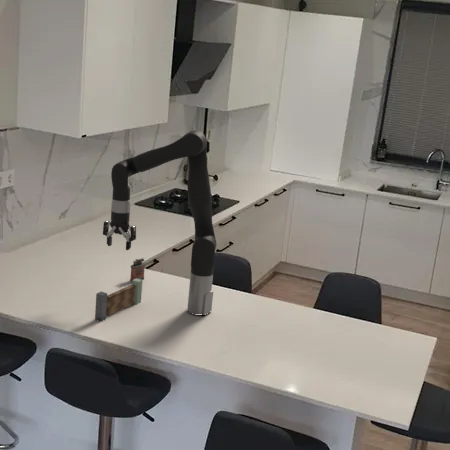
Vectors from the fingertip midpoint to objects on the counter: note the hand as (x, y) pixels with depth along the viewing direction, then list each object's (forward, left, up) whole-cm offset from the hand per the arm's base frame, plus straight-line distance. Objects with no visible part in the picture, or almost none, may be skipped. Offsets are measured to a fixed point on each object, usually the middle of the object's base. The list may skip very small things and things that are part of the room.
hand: (118, 247), depth 287 cm
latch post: (-8, -3, -23) cm, 25 cm away
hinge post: (-8, +21, -23) cm, 32 cm away
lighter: (+7, -24, -23) cm, 34 cm away
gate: (-8, +8, -22) cm, 25 cm away
